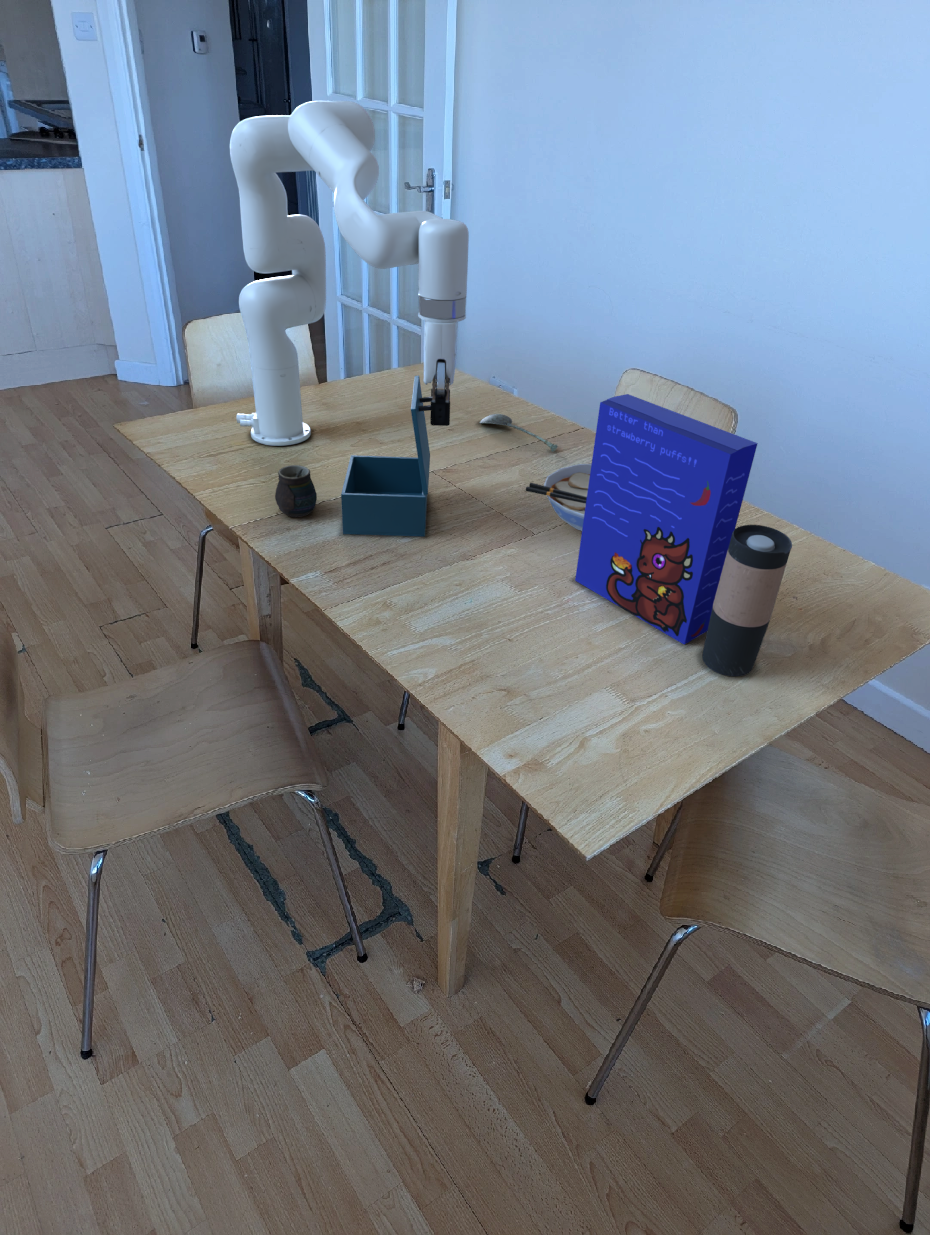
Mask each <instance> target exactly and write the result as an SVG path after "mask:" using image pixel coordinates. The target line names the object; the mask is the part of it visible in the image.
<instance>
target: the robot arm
mask: <svg viewBox="0 0 930 1235" xmlns="http://www.w3.org/2000/svg"><path fill="white" fill-rule="evenodd" d="M375 141H376V131H375V126H374V123H373V119H372V118H371V116H370V114H369V113H368V111H367V110H366V109H365V108H364V107H363V106H362V105H360V104H359V103H357V102H355V101H350V100H314V101H307V102H303V103H302V104H300V105H298V106H296V108H295V109H293V111H292V112H291V114H290V115H283V114H281V115H278V114H276V115H273V114H272V115H259V116H252V117H247V118H245V119H242V120H240V121H239V122H238V123H237V124H236V125H235V126H234V128H233V130H232V132H231V135H230V140H229V156H230V163H231V167H232V170H233V173H234V174H233V175H234V177H235V180H236V186H237V189H238V196H239V210H240V211H239V212H240V224H241V225H240V226H241V238H242V249H243V255H244V259H245V262H246V265H247V266H248V268H249V269H250V270H251V271H253V272H255V273H259V274H274V273H282V272H288V271H291V274H289V275H284V276H275V277H269V278H263V279H259V280H258V279H257V280H254V281H252V282H250V283H248V284H246V285H245V286H244V287H243V288H241V291H240V293H239V296H238V308H239V312H240V315H241V318H242V322H243V326H244V330H245V334H246V338H247V344H248V352H249V353H248V354H249V360H250V369H251V380H252V387H253V389H252V390H253V396H254V397H253V398H254V406H255V407H254V408H255V412H251V414H246V413H237V414H236V423H237V424H239V426H240V427H250V428H251V429H250V437H251V439H252V440H253V441H255V442H256V443H259V444H262V445H266V446H275V447H283V446H284V447H285V446H292V445H296V444H300V443H302V442H304V441H306V440H308V439H309V438H310V436H311V434H312V433H311V432H312V428H311V427H310V426H309V425H308V424H307V423H305V422H303V408H302V395H301V394H302V392H301V382H300V381H301V378H300V365H299V355H298V350H297V348H296V346H295V344H294V342H293V341H292V340H291V338H290V337H289V336H288V334H287V332H286V330H288V329H291V328H295V327H301V326H305V325H311V324H314V323H316V322H318V321H319V320H321V319H322V318H323V316H324V314H325V312H326V307H327V254H326V253H327V252H326V243H325V237H324V234H323V232H322V230H321V227H320V226H319V224H318V223H317V222H316V220H314V219H313V218H312V217H310V216H308V215H305V214H290V215H289V212H288V195H287V191H286V189H285V186H284V184H283V181H282V180H281V178H280V177H279V175H278V174H277V173H292V172H293V173H295V172H310V171H312V172H313V171H314V172H315V173H316V175H318V177H319V178H320V179H321V180H322V181H323V182H324V184H325V185H326V186H327V187H328V188H329V190H331V192H332V193H333V194H334V196H333V211H334V217H335V220H336V225H337V227H338V230H339V232H340V234H341V236H342V238H343V239H344V241H345V242H346V243H347V245H349V247H350V248H352V250H353V251H354V252H355V253H356V254H357V256H358V257H359V258H360V259H361V260H362V261H363V262H365V263H366V264H367V265H368V266H370V267H372V268H375V269H378V270H379V269H380V270H387V269H393V268H394V269H395V268H399V267H405V266H412V265H418V279H417V280H418V283H417V284H418V286H417V287H418V288H417V289H418V291H417V292H418V296H417V297H418V301H417V302H418V307H417V308H418V312H417V316H418V318H419V319H421V320H423V321H424V327H423V383H424V385H425V386H426V385H428V384H431V386H432V387H431V389H430V397H432V401H431V402H430V405H431V410H430V416H429V417H430V419H429V420H430V422H429V423H430V425H431V426H436V427H437V426H438V427H448V426H450V424H451V389H450V386H452V385H453V384H454V381H455V375H456V374H455V372H456V366H457V352H458V334H459V333H458V332H459V322H462V321H464V320H465V319H466V318H467V298H468V296H467V293H468V270H469V268H468V267H469V266H468V265H469V241H470V240H469V238H470V234H469V233H470V232H469V228H468V226H467V224H465V223H464V222H463V221H461V220H455V219H450V218H443V217H440V216H438V215H437V214H435V213H433V212H430V211H428V210H412V211H399V212H392V213H391V212H389V213H384V214H383V213H382V214H377V213H376V212H375V211H374V210H373V209H372V208H371V207H370V206H369V204H367V202H366V201H365V200H366V199H367V197H368V196H369V195H371V193H372V191H373V190H374V189H375V187H376V185H377V183H378V181H379V176H380V164H379V162H378V159H377V158H376V156H375V155H374V154H373V153H372V150H373V148H374V145H375ZM435 396H436V398H435ZM435 400H436V401H435Z"/></svg>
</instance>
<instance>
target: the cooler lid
mask: <svg viewBox="0 0 930 1235" xmlns="http://www.w3.org/2000/svg"><path fill="white" fill-rule="evenodd" d="M435 398H436V396H435ZM431 401H432V397H431V396H424V397H423V393H422V386H421V378H420V375H414V380H413V388H412V397H411V404H410V405H411V406H410V414H411V420H412V428H413V434H414V442H415V447H416V448H415V449H416V453H417V458H418V462H419V469H420V475H421V482H422V489H423V495H426V494H427V495H428V494H429V483H430V465H431V451H430V444H429V437H428V429H427V421H426V415H425V412H429V411H431V404H428V405H427V404H426V405H424V403H431ZM435 401H436V400H435Z"/></svg>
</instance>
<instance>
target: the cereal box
mask: <svg viewBox="0 0 930 1235" xmlns="http://www.w3.org/2000/svg"><path fill="white" fill-rule="evenodd" d="M757 447H758V442H756V441H753V440H751V439H748V438H745V437H742V436H739V435H738V434H735V433H732V432H729V431H726V430H724V429H722V428H718V427H716V426H713V425H711V424H708V423H705V422H702V421H700V420H697V419H695V418H693V417H690V416H686V415H684V414H682V413H679V412H676V411H675V410H674V411H673V410H671V409H669V408H666V407H664V406H661V405H658V404H655V403H653V402H650V401H647V400H644V399H642V398H639V397H638V396H634V395H632V394H628V393H627V394H621V395H616V396H612V397H609V398H606V399H605V400H603V401H600V402H599V408H598V415H597V423H596V430H595V436H594V444H593V451H592V458H591V463H590V464H591V471H590V478H589V486H588V493H587V500H586V507H585V514H584V521H583V528H582V531H581V536H580V543H579V550H578V557H577V564H576V571H575V572H576V573H575V578H574V580H575V582H577V583H578V584H580V585H582V586H584V587H585V588H587V589H589V590H590V591H592V592H594V593H596V594H597V595H599V596H601V597H602V598H604V599H605V600H608V601H609V602H610V603H613V604H614V605H616V606H618V607H619V608H621V609H622V610H624V611H626V612H627V613H629V614H631V615H632V616H633V615H634V617H636V618H638V619H640V620H641V621H643V622H645V623H646V624H648V625H650V626H651V627H653V628H655V629H657V630H658V631H660V632H662V633H663V634H665V635H666V636H669V637H670V638H672V639H674V640H675V641H677V642H679V643H681V644H682V645H686V644H688V643H691V642H692V641H693V640H695V639H697V638H699V637H701V636H702V635H703V634H705V633H707V630H708V626H709V621H710V616H711V612H712V607H713V603H714V599H715V596H716V592H717V588H718V584H719V581H720V577H721V573H722V570H723V566H724V562H725V558H726V555H727V551H728V547H729V544H730V540H731V536H732V533H733V531H734V530H735V529H736V528H737V524H738V520H739V516H740V512H741V508H742V504H743V500H744V497H745V493H746V490H747V485H748V481H749V477H750V474H751V470H752V466H753V462H754V458H755V455H756V452H757Z"/></svg>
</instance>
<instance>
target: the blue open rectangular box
mask: <svg viewBox="0 0 930 1235" xmlns="http://www.w3.org/2000/svg"><path fill="white" fill-rule="evenodd" d="M340 501H341V502H340V503H341V521H342V522H341V523H342V524H341V525H342V534H343V535H359V536H361V535H362V536H390V537H391V536H392V537H421V538H423V537H424V538H425V537H426V525H427V506H428V494H426V495H423V489H422V482H421V475H420V469H419V462H418V457H417V456H416V457H415V456H414V457H412V456H385V455H383V456H382V455H355V454H351V455H350V458H349V462H348V466H347V470H346V474H345V477H344V481H343V485H342V489H341V494H340Z"/></svg>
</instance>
